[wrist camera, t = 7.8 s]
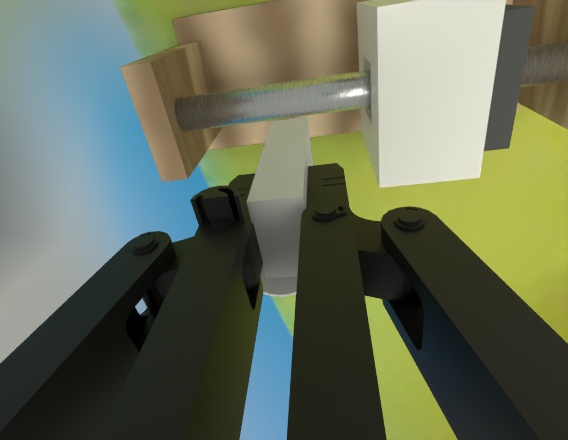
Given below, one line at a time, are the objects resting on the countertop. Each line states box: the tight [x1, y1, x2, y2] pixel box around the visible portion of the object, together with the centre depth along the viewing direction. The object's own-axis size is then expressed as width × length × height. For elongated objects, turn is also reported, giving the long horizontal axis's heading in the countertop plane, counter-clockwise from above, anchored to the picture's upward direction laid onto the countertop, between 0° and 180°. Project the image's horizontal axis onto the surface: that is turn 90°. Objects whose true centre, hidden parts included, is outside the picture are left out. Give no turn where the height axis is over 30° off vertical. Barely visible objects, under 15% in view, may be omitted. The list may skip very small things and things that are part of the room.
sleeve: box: [357, 0, 506, 188], centre depth 24 cm, size 6×10×10 cm, turn 9°
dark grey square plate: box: [484, 4, 536, 151], centre depth 23 cm, size 2×8×8 cm, turn 8°
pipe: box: [175, 41, 568, 132], centre depth 24 cm, size 28×3×3 cm, turn 99°
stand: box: [120, 0, 568, 182], centre depth 28 cm, size 30×12×12 cm, turn 99°
